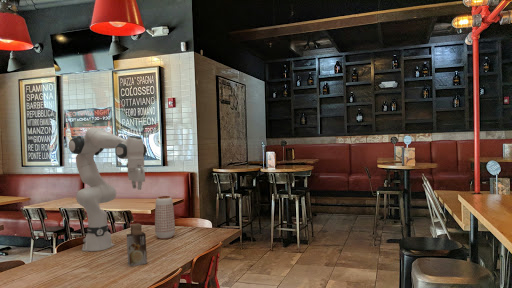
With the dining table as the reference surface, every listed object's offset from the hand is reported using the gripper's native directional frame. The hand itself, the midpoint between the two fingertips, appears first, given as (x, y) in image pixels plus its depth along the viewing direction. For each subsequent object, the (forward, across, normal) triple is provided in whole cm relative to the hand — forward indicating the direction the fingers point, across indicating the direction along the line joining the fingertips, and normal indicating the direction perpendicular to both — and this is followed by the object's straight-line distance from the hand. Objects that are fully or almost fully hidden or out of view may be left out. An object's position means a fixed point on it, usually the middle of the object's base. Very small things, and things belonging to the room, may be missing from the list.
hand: (136, 189), depth 209 cm
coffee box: (+39, -10, +4) cm, 41 cm away
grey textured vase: (+39, +36, -29) cm, 61 cm away
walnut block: (+23, -10, +4) cm, 25 cm away
